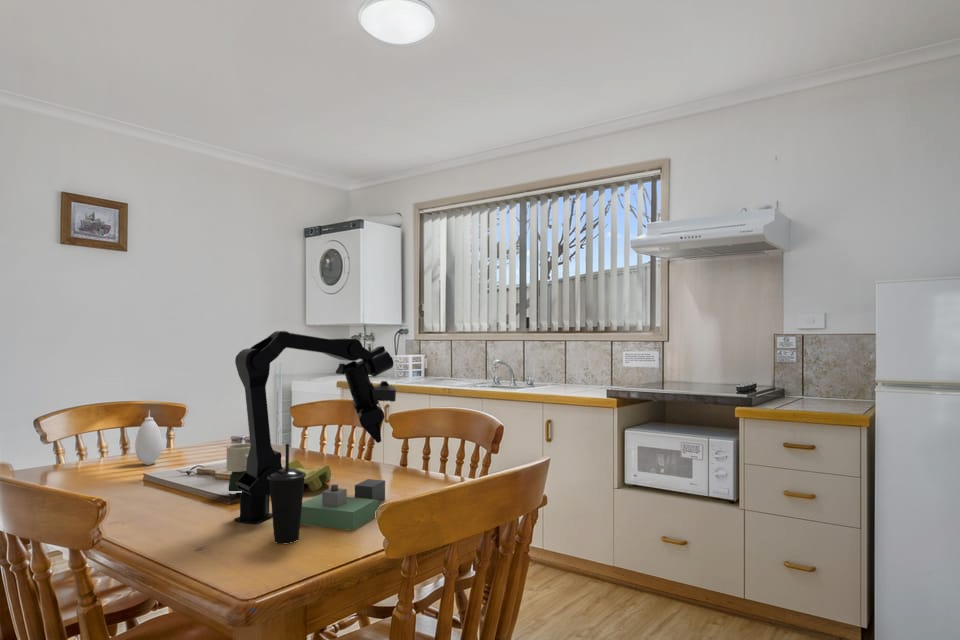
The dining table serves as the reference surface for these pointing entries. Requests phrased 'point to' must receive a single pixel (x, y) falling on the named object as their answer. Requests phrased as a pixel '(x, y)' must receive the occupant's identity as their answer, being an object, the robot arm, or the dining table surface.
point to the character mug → (236, 463)
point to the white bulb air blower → (148, 442)
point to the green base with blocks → (337, 510)
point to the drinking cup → (286, 501)
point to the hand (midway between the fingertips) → (376, 436)
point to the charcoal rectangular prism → (371, 489)
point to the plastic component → (312, 474)
